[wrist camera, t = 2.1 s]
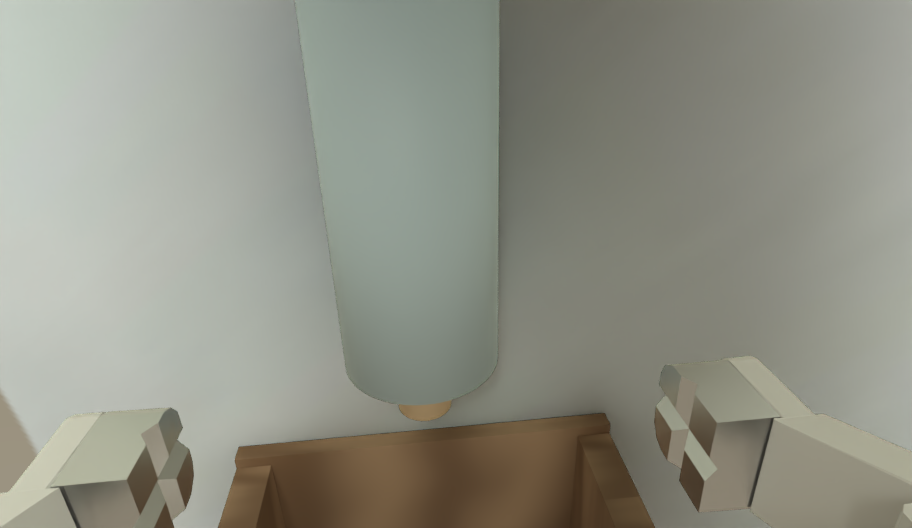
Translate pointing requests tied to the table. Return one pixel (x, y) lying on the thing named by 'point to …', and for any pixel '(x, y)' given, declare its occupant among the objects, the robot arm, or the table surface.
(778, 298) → the table surface
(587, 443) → the roll holder
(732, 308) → the table surface
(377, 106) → the paper roll
